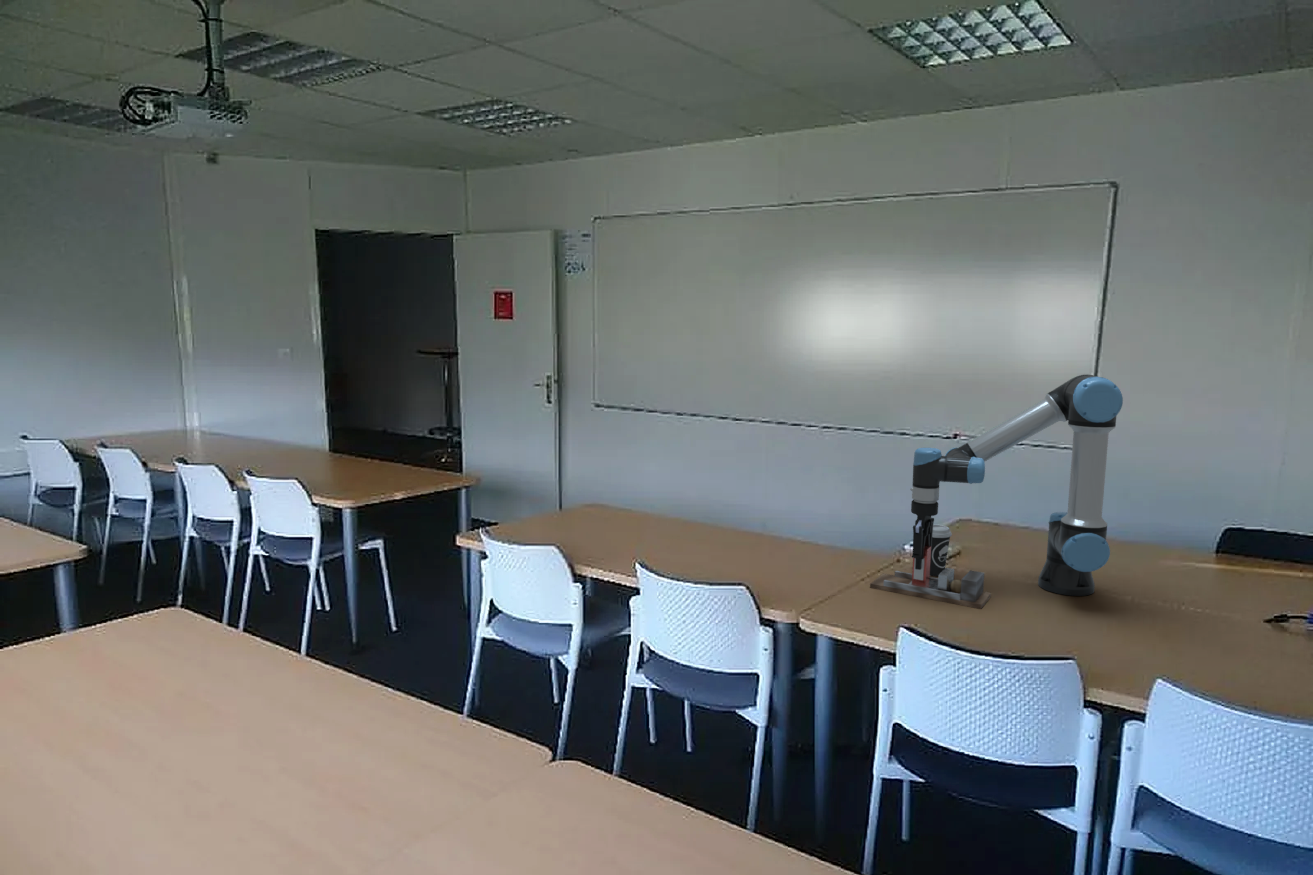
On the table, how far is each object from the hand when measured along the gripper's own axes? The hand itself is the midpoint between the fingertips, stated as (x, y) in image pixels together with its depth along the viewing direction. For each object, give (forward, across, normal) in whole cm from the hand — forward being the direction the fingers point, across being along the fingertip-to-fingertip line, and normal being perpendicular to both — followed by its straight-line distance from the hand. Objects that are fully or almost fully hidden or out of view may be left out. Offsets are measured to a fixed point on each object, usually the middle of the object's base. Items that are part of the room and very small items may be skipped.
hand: (920, 576), depth 242 cm
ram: (+3, 0, +3) cm, 4 cm away
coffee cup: (+4, -19, -1) cm, 20 cm away
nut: (+1, 0, +11) cm, 11 cm away
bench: (+4, 0, +3) cm, 5 cm away
